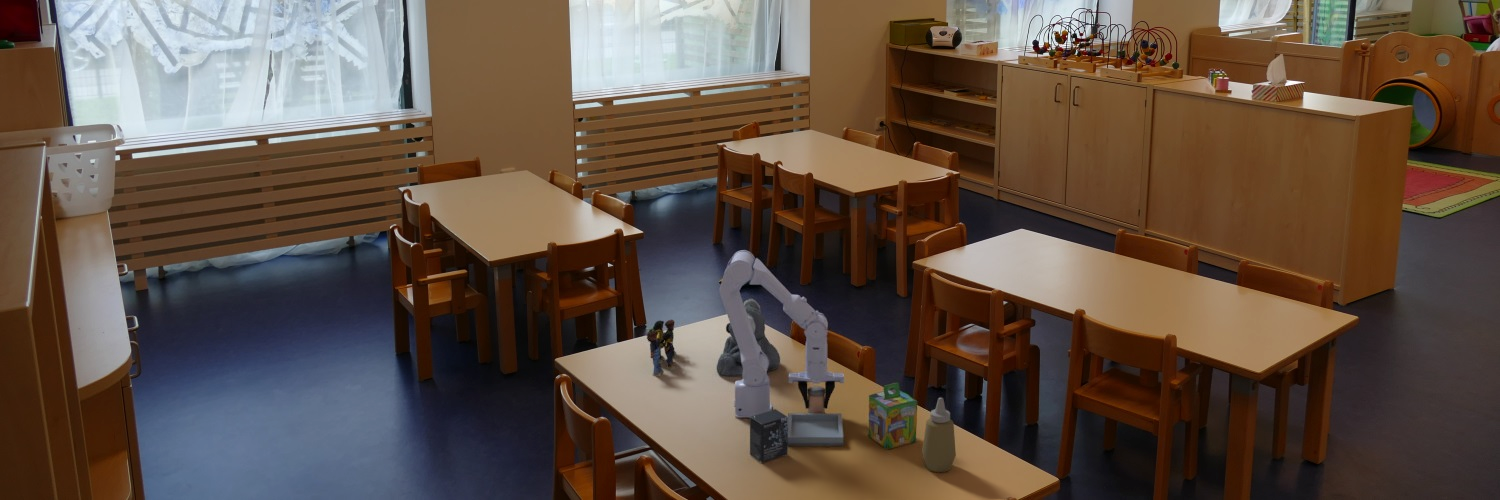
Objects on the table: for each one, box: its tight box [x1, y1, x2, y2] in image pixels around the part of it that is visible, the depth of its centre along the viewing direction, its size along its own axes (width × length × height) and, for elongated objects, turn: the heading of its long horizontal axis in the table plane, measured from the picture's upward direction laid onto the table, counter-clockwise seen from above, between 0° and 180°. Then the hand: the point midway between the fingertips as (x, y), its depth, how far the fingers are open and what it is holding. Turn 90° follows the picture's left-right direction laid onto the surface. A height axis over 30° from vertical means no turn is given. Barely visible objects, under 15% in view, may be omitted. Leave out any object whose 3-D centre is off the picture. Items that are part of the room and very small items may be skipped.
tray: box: [787, 412, 844, 447], centre depth 301 cm, size 14×14×2 cm
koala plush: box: [716, 298, 781, 377], centre depth 341 cm, size 17×18×20 cm
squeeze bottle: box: [921, 397, 957, 473], centre depth 280 cm, size 8×8×18 cm
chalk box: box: [867, 382, 918, 450], centre depth 295 cm, size 9×9×15 cm
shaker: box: [807, 385, 826, 413], centre depth 311 cm, size 5×5×7 cm
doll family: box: [645, 319, 678, 377], centre depth 345 cm, size 23×9×13 cm, turn 6°
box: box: [749, 408, 789, 464], centre depth 288 cm, size 8×6×11 cm
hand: (816, 407), depth 312 cm, fingers closed on shaker, 4 cm apart
